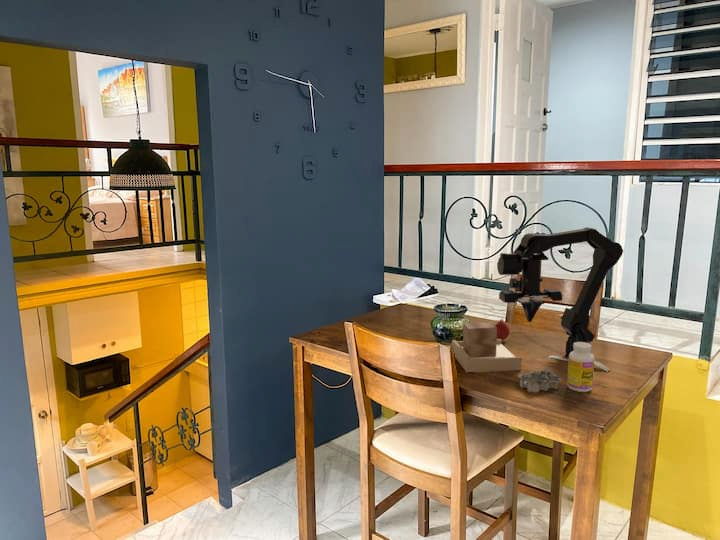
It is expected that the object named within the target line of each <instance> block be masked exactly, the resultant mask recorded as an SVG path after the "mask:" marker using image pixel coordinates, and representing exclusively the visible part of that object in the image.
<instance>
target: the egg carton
mask: <svg viewBox="0 0 720 540" xmlns="http://www.w3.org/2000/svg"><path fill="white" fill-rule="evenodd" d="M517 378H518V379H520V380H519V387H520V388H525V389H526V388H527V392H529V393H530V392H531V393H539V392H540V391H549V389H555V390H557V389H559V386H560V385H559V383H561V381H562V380H563V379H562V378H559V376H558V375H556V374H555V373H554V372H552V371H550V370H549V369H548V368H546V367H545V368H544V369H541V370H537V371H536V370H533V371H530V372H527V373H525V372H521V373H520V374H519V375H517Z"/></svg>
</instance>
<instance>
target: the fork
mask: <svg viewBox="0 0 720 540" xmlns="http://www.w3.org/2000/svg"><path fill="white" fill-rule="evenodd" d="M548 356H549V357H548ZM548 356H547V358H549V359H554V360H559V361H564V362H565V361H566V362H569V358H565V357H562V356H558V355H551V356H550V355H548ZM594 366H597V367H599V368H601V369H602V370H604V371H606V372H607V373H609V372H608V371H609V370H611V369H610V368H608V367H607V366H605V365H604V364H603V363H601V362H599V361H596V360H594Z"/></svg>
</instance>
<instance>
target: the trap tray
mask: <svg viewBox="0 0 720 540" xmlns="http://www.w3.org/2000/svg"><path fill="white" fill-rule="evenodd" d="M502 342H503V341H502V340H501V339H497V342H496V356H494V357H474V358H470V357H469V356H468V354H467V353H466V352H465V351H464V350H463V340H459V341H458V340H456V339H452V341H451V347H452V346H453V349H454V353H455V357H454V358H455V359H456V361H457V362H458V363H459V364H460V366H461V367H462V368H463V370H464V371H465V372H466V373H467V374H469V373H468V372H475V373H489V372H490V373H492V371H493V372H509V371H512V372H513V371H521V370H522V356H515V355H514V354H513V353H512V352H511V351H510V350H509V349H508V348H506V346H504V345H503V344H502Z"/></svg>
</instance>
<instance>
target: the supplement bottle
mask: <svg viewBox="0 0 720 540" xmlns="http://www.w3.org/2000/svg"><path fill="white" fill-rule="evenodd" d="M592 346H593V345H592V344H591V343H590V344H589V343H585V342H575V343H574V344H573V348H574V351H572V352H571V353H570V354H569V357H568V359H569V361H568V364H567V365H568V366H567V380H566V382H567V383H566V386H567V387H568V388H569V389H570V390H571V391H575V392H579V393H588V392H591V391H592V390H593V385H594V372H595V371H594V370H595V369H594V368H595V365H594V361H595V355H594V354H593V353H592V352H591V351H592Z"/></svg>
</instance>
